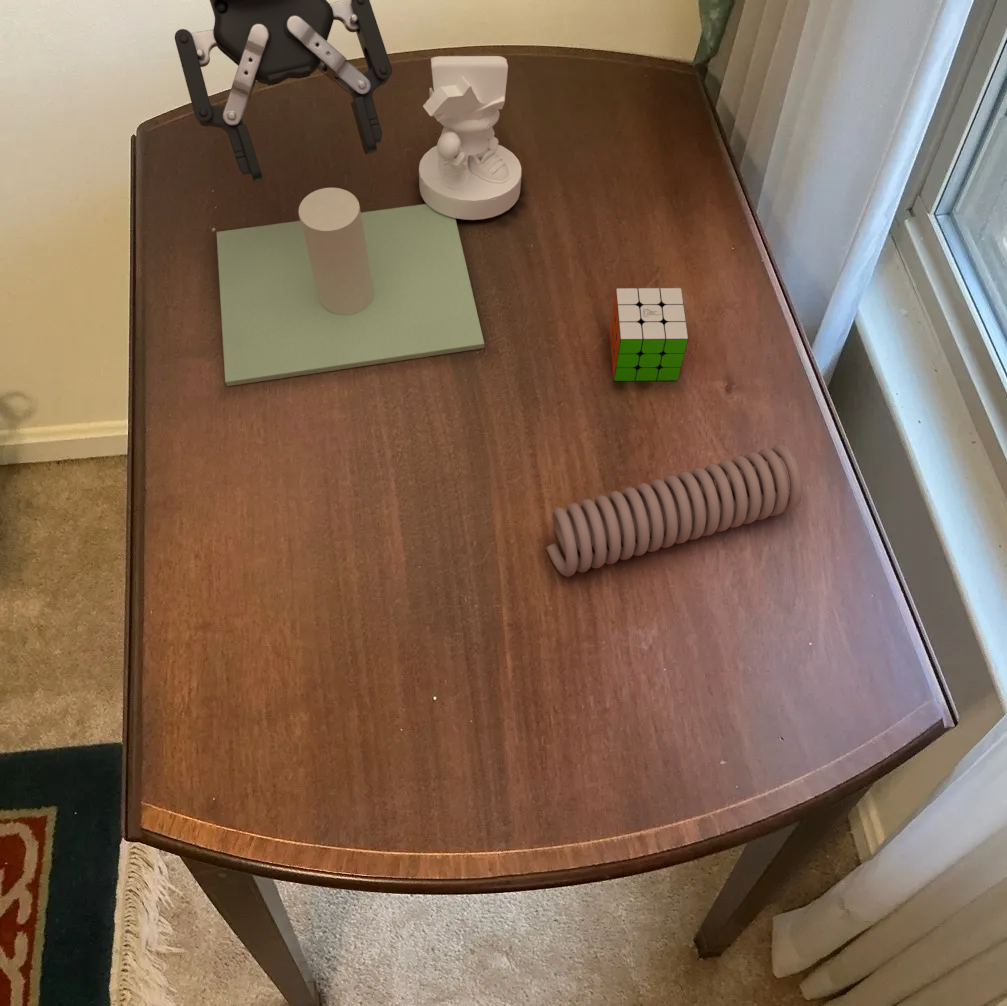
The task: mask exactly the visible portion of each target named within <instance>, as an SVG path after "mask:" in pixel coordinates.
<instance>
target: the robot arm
mask: <svg viewBox="0 0 1007 1006" xmlns="http://www.w3.org/2000/svg"><path fill="white" fill-rule="evenodd" d="M209 3H210V6H211V9H212V12H213V17H214V24H213V29H207V30H199V31H194V32H191V31H189V30H188V29H185V28H180V29H178V30H177V31H176V32H175V33H174V41H175V46H176V50H177V53H178V57H179V61H180V65H181V68H182V72H183V75H184V80H185V83H186V88H187V91H188V96H189V98H190V102H191V106H192V110H193V114H194V116H195V119H196V122H197V123H198V125H200V126H202V127H212V128H219V129H222V130H223V131H224V132H225V133H226V134H227V136H228V138H229V142H230V145H231V148H232V152H233V155H234V158H235V162H236V164H237V167H238V170H239V171H240V172H241V174H242V175H243V176H244V177H245V176H249V175H250V177H251V180H252V183H257V182H261V181H263V180H264V176H263V174H262V171H261V167H260V164H259V161H258V158H257V155H256V151H255V147H254V145H253V142H252V138H251V136H250V131H249V129H248V126H247V123H245V124H244V122H243V119H244V116H245V113H246V111H247V108H248V106H249V105H248V104H249V102H250V100H251V97H252V94H253V91H254V88H255V85H256V83H257V82H258V83H260V84H262V85H263V84H264V85H267V86H268V87H270V86H275V85H278V84H280V83H282V82H284V81H286V80H288V79H297V80H298V79H304V78H308V77H311V75H312V74H313V73H314V72H316V71H317V70H318V71H319V72H321V73H322V74H323V75H324V76H326V77H327V78H328V79H329V80H331V81H332V82H334V83H336V85H338V86H339V87H341V88H342V89H343V90H344V91H345V92H346V93H348V94H349V95H350V96H351V99H352V101H351V102H350V105H351V109H352V113H353V117H354V120H355V124H356V126H357V130H358V135H359V138H360V141H361V144H362V148H363V152H364V154H365V155H370V154H374V153H376V152H377V151H378V147H377V144H379V143H380V142H381V141H382V136H383V131H382V127H381V124H380V121H379V116H378V114H377V110H376V109H377V108H376V105H375V102H374V98H373V93H374V92H375V90H377V89H378V88H380V87H381V86H383V85H385V84H386V83H387V82H388V80H389V79H390V77H391V76H392V73H393V68H392V65H391V62H390V59H389V56H388V52H387V49H386V47H385V43H384V40H383V37H382V34H381V31H380V28H379V24H378V22H377V19H376V16H375V13H374V10H373V6H372V3H371V1H370V0H337V1H334V2H331V3H330V2H329V1H328V0H209ZM334 21H339V22H340V23H342V25H343V26H344V28H345V30H346V31H348V32H349V33H355V34H356V36H357V39H358V42H359V45H360V48H361V51H362V55H363V57H364V60H365V62H366V66H367V71H365V72H364V73H362V72H361V71H360V70H358V69H357V68H356V67H355V66H354V65H353V64H352V63H351V62H350V61H349V60H348V59H347V57H346V56H344V55H343V54H342V53H341V52H340V51H339V50H338V49H336V47H334V46H333V45H332V43H331V44H330V43H329V42H328V39H329V36H330V33H331V31H332V27H333V24H334ZM216 47H217V48H218V50H219V51H220V52H222V53H223V54H224V55H225V56H226V57H227V58H228V59H230V60H231V61H232V62H233V63H234V64H236V65H237V66H238V67H237V69H236V72H235V74H234V78H233V82H232V85H231V88H230V91H229V95H228V97H227V100H226V104H225V105H224V106H220V105H213V104H212V105H211V102H210V98H209V94H208V91H207V87H206V82H205V78H204V75H203V71H202V68H205V67H207V66H208V65H209V64H210V61H211V55H210V54H211V52H212V50H213V49H214V48H216Z"/></svg>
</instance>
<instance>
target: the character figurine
mask: <svg viewBox="0 0 1007 1006" xmlns="http://www.w3.org/2000/svg"><path fill="white" fill-rule="evenodd" d="M430 65H431V75H432V87H433V88H432V87H430V88H429V98H428V99H427V100H426V102H425V103H423V105H422V107H423V109H424V110H425V111H426V113H427V114H428V115H429V116H430V117H433V118H434V119H435V120H436V121H437V122H439V123H440V124H441V125H442V126H443V128H442V130H441V133H440V136H439V138H438V140H437V144H436V145H435V146H433V147H431V148H430V149H429V150H428V151H427V152H425V153H424V155H423V156H422V158H421V159H420V161H419V166H418V179H419V180H418V185H419V186H418V187H419V188H418V189H419V193H420V194H419V195H420V197H421V198H422V200H423V201H424V203H425V204H428V205H429V206H430V207H431V208H432V209H434V210H435V211H437V212H439V213H441V214H443V215H446V216H449V217H453V218H456V219H459V220H466V221H467V220H468V221H475V220H476V221H477V220H485V219H491V218H494V217H497V216H500V215H503V214H504V213H506V212H507V211H510V209H511V208H512V207H513V206H515V204H516V203H517V201H518V200H519V199H520V194H521V187H522V186H521V184H522V165H521V162H520V160H519V159H518V158H517V156H516V155H515V154H514V153H513V152H512V151H510V150H509V149H507V148H506V147H505V146H502V144H501V145H500V144H499V139H498V138H497V137H495V135H496V133H495V130H494V128H493V127H494V126H495V125H496V124H497V123H498V122H499V119H500V111H499V110H503V107H504V106H505V102H506V92H507V91H506V90H507V82H508V72H509V71H508V70H509V64H508V61H507V58H505V57H504V56H502V55H453V56H452V55H451V56H450V55H447V56H444V55H443V56H442V55H441V56H433V57H431V58H430Z"/></svg>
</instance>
